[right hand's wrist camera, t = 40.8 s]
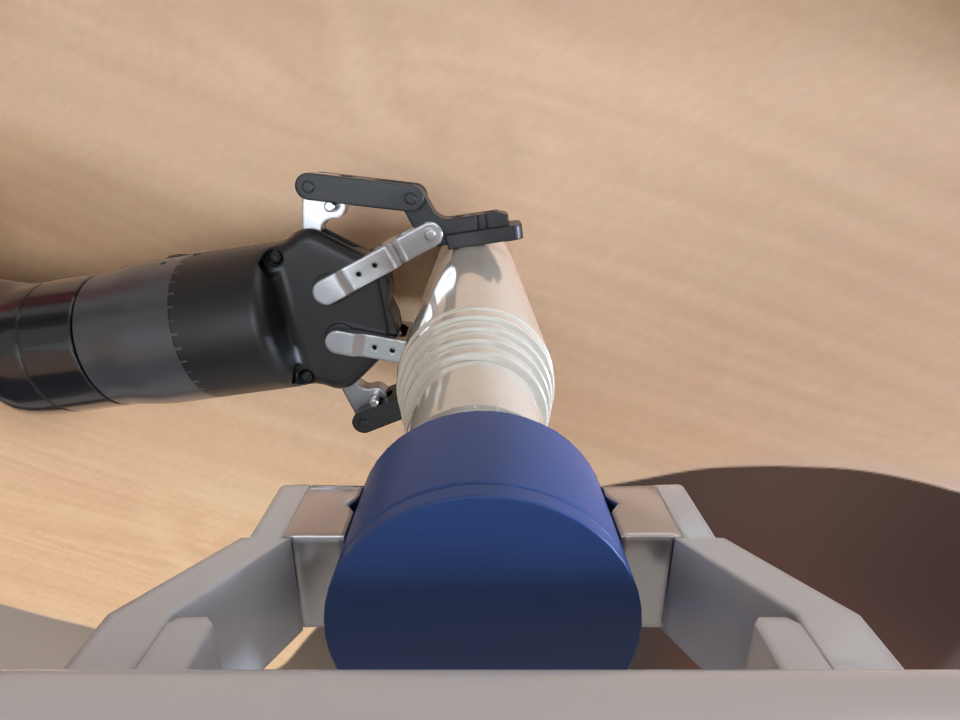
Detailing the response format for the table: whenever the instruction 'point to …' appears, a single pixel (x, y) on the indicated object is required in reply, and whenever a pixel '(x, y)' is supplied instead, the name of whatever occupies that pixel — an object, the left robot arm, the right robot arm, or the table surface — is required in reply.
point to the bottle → (474, 343)
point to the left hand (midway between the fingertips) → (525, 281)
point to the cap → (482, 556)
